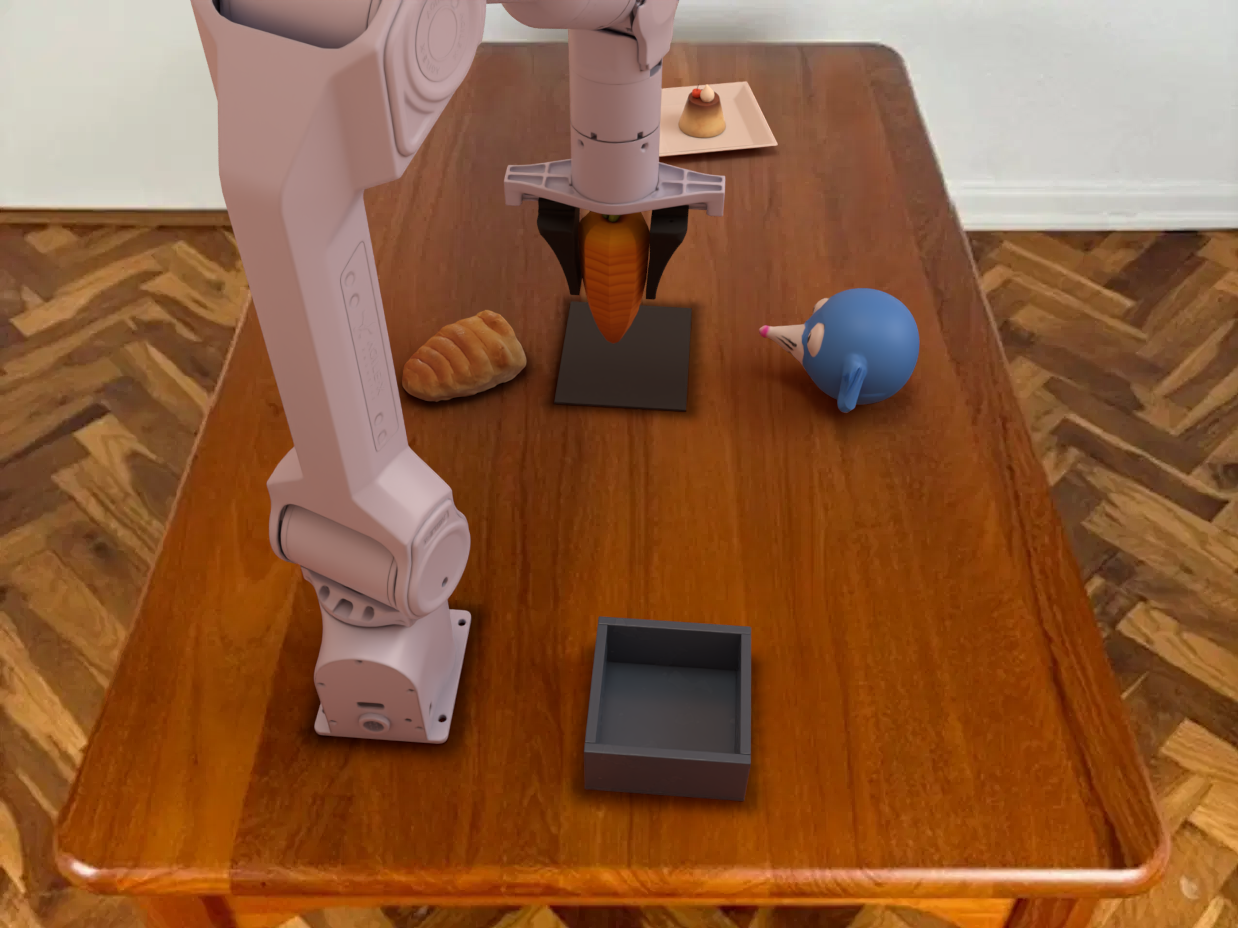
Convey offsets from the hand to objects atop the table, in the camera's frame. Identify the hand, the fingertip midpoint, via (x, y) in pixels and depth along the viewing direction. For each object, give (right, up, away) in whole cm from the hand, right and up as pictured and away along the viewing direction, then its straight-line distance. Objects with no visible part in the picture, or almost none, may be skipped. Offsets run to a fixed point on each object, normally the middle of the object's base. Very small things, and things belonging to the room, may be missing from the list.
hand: (614, 288), depth 85 cm
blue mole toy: (+17, -7, +7) cm, 19 cm away
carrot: (0, -4, +4) cm, 5 cm away
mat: (+1, -4, +9) cm, 10 cm away
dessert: (+9, +20, +32) cm, 39 cm away
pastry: (-11, -6, +8) cm, 15 cm away
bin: (+3, -28, -13) cm, 31 cm away
